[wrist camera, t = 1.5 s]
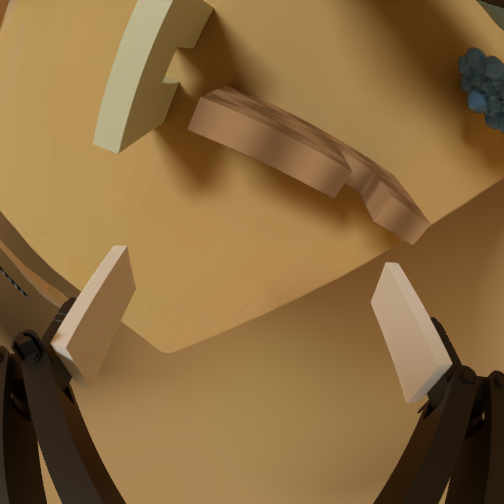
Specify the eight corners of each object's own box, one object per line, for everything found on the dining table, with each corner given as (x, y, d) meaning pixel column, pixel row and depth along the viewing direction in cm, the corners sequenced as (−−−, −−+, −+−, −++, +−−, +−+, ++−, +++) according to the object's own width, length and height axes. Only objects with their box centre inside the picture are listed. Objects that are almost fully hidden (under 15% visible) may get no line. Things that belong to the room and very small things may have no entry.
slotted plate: (190, 1, 23) (148, -20, 13) (213, 8, 23) (180, -15, 14) (143, 115, 32) (92, 144, 22) (164, 122, 32) (118, 153, 23)
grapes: (421, 59, 24) (477, 67, 14) (454, 38, 21) (514, 44, 11) (461, 133, 28) (514, 169, 19) (490, 112, 25) (546, 142, 16)
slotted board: (216, 106, 31) (187, 129, 22) (226, 84, 29) (200, 97, 20) (381, 192, 36) (412, 245, 26) (393, 175, 34) (430, 224, 25)
